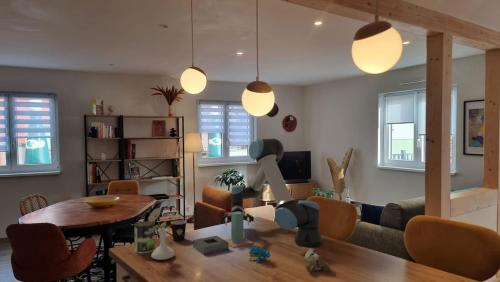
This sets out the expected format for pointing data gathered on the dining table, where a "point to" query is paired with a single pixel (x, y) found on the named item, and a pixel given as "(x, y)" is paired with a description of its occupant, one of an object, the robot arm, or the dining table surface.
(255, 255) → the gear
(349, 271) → the dining table surface
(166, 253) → the flower in vase
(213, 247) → the socket block
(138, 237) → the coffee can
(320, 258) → the ceramic sculpture
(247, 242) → the mat
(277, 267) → the dining table surface
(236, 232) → the peg
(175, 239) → the coffee mug
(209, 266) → the dining table surface
